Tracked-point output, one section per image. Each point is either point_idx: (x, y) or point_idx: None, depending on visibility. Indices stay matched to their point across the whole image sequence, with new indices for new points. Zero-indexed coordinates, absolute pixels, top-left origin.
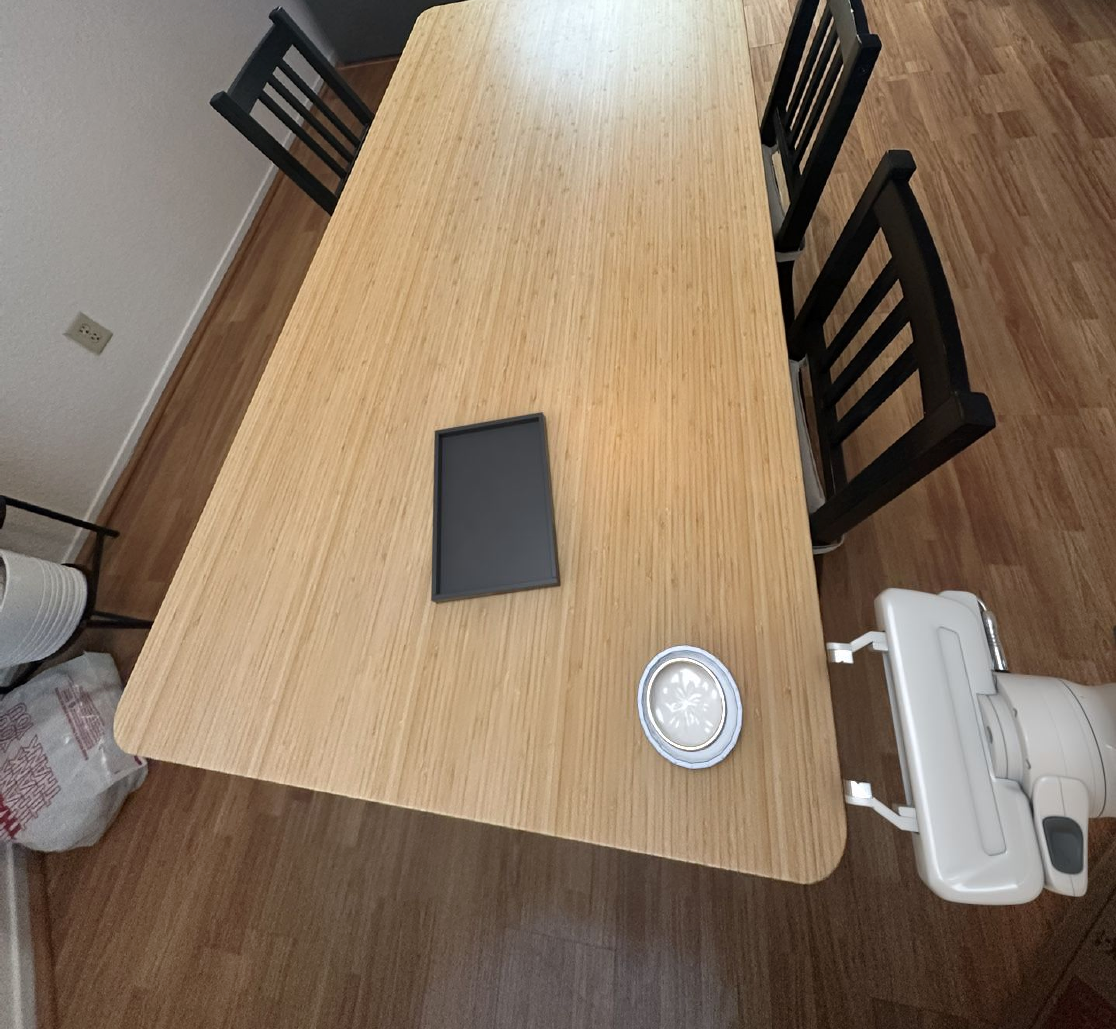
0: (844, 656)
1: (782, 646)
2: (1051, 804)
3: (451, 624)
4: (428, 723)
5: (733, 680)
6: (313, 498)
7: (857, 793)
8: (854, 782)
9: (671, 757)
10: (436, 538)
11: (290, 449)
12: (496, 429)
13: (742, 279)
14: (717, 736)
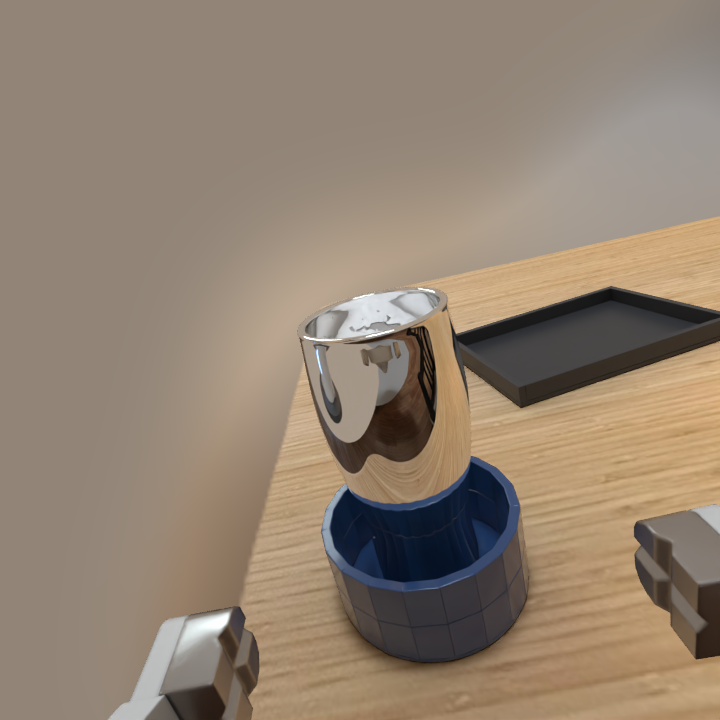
0: (700, 550)
1: None
2: None
3: None
4: None
5: (486, 562)
6: (492, 289)
7: (188, 632)
8: (224, 621)
9: (334, 502)
10: (504, 320)
11: (521, 271)
12: (664, 315)
13: None
14: (322, 342)
